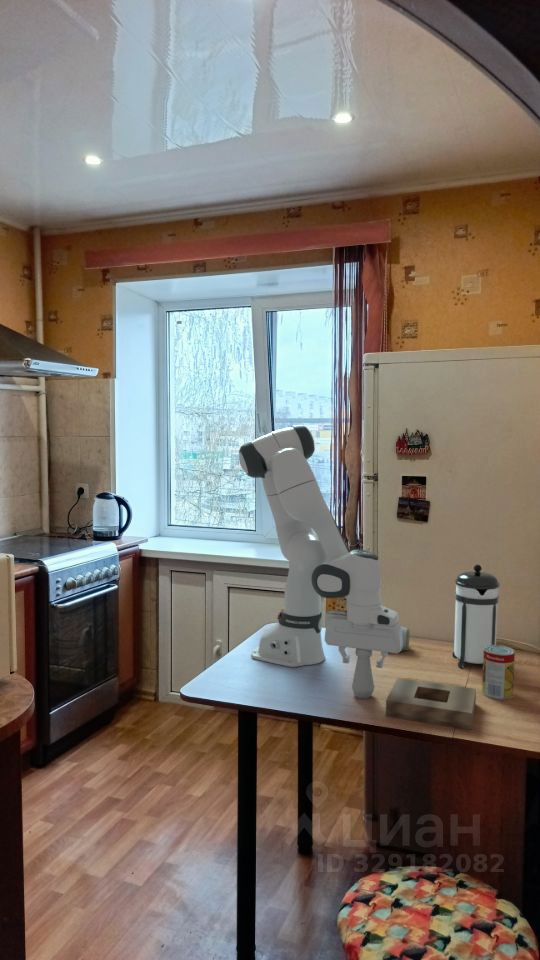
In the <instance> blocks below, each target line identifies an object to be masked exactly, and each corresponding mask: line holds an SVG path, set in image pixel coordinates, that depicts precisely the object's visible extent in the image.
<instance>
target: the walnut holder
mask: <svg viewBox="0 0 540 960" xmlns="http://www.w3.org/2000/svg"><path fill="white" fill-rule="evenodd" d="M476 698H477V688H473V687H466V686H458V685H451V684H444V683H438V682H437V683H436V682H432V681H431V682H430V681H422V680H416V679H415V680H414V679H409V678H408V679H407V678H403V677H402V678H401V677H397V678H396V680H395V681H394V684H393V686H392V688H391V690H390V691H389V693H388V696H387V698H386V699H385V716H386V717H389V718H394V719H396V718H397V719H401V720H407V721H412V722H413V721H414V722H419V723H427V724H433V725H438V726H444V727H445V726H446V727H451V728H458V729H464V730H470V731H471V730H472V727H473V721H474V715H475V708H476V702H477V701H476V700H477V699H476Z"/></svg>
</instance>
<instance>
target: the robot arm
mask: <svg viewBox="0 0 540 960" xmlns="http://www.w3.org/2000/svg"><path fill="white" fill-rule="evenodd" d="M315 447H316V446H315V439H314V437H313V435H312V433H311V431H310V430H309V429H308V427H307V426H305V425H303V424H294V425H291V426H290V427H285V428H284V427H283V428H282V429H277V430H274V431H271V432H269V433H267V434H265V435H262V436H260V437H258V438H256V439H254V440H249V441H246V443H244V444H242V445H241V446H240V447H239V450H238V460H239V461H238V462H239V465H240V468H241V469H242V470H243V472H244V473H245V474H246V475H247V476H248V477H250V478H253V479H255V478H256V479H257V478H261V481H262V485H263V489H264V493H265V496H266V498H267V501H268V505H269V508H270V510H271V514H272V518H273V520H274V525H275V531H276V535H277V539H278V543H279V547H280V551H281V554H282V556H283V558H285V560H287V561H288V563H289V565H288V566H289V567H288V573H287V579H286V583H285V585H284V607H282V609H281V610H280V612H278V614H277V615H276V620H277V621H278V622H277V623H275V624H274V625H273V626H271V627H270V628H269V629H267V630H266V631H264V632H263V633H262V634H261V637H260V640H259V643H258V645H256V647H254V648H253V649H252V651H251V655H250V656H251V658H252V659H255V660H258V661H264V662H268V663H272V664H277V665H281V666H285V667H290V668H296V667H297V668H298V667H300V666H309V665H316V664H319V663H321V662H323V661H325V659H326V656H325V652H324V647H323V642H322V640H323V639H322V629H323V614H322V613H323V612H322V611H321V603H322V600H321V599H322V598H325V599H339V598H345V599H346V610H338V609H337V610H336V609H330V610H328V611H327V612H326V613H325V616H324V623H325V625H326V626H325V631H324V632H325V633H324V642H325V643H326V645H328V646H335V647H338V652H339V653H340V655H341V657H342V663H343V664H349V663H350V660H351V659H350V658H351V657H350V656H351V655H349V654H347V652H346V650H345V649H346V648H349V649H350V648H351V649H356V648H357V649H365V650H372V652H374V651H375V652H380V656H382V657H381V659H380V658H378V659H377V660H376V662H375V663H376V669H377V668H379V669H383V668H384V661H385V660H386V657H387V656H388V654H389V653H392V654H399V653H400V652H401V651H403V650H402V648H403V637H402V629H401V627H402V626H401V624H400V623H399V622H398V620H399V612H397V611H396V610H394V609H393V610H392V609H390V608H388V607H386V606H384V605H382V600H381V596H380V591H381V588H382V570H381V567H382V566H381V561H380V559H379V557H378V556H377V555H376V554H375V553H374V552H372V551H368V550H363V549H353V550H350V548H349V547H348V545H347V543H346V541H345V538H344V537H343V534H342V533H341V530H340V528H339V526H338V524H337V522H336V520H335V518H334V516H333V514H332V513H331V511H330V509H329V507H328V505H327V503H326V501H325V499H324V496H323V493H322V491H321V489H320V486H319V484H318V481H317V479H316V477H315V474H314V472H313V469H312V468H311V466H310V463H309V462H308V460H309V459H310V458H312V456H313V454H314V452H315V450H316V449H315Z"/></svg>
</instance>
